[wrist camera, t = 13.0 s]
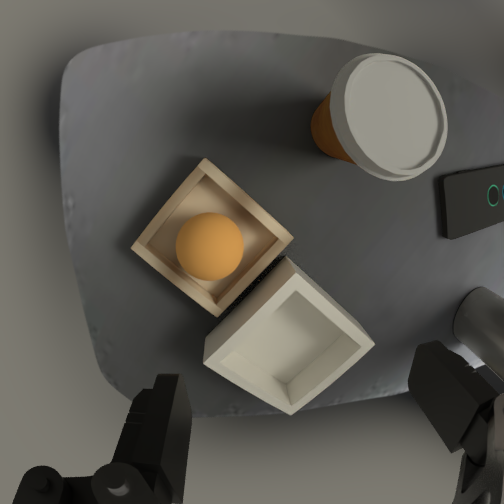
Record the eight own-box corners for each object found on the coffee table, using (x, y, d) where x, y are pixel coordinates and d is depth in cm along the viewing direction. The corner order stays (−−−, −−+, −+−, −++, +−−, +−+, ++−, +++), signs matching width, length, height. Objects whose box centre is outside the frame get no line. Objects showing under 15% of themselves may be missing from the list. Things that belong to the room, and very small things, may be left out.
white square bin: (358, 322, 34) (375, 344, 29) (284, 388, 36) (290, 415, 31) (285, 255, 31) (296, 272, 26) (205, 337, 33) (202, 363, 28)
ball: (255, 236, 29) (261, 253, 24) (215, 279, 30) (211, 305, 25) (208, 195, 28) (202, 202, 22) (169, 241, 29) (155, 259, 23)
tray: (288, 232, 30) (293, 237, 28) (217, 306, 32) (217, 317, 30) (206, 158, 28) (204, 157, 25) (137, 241, 29) (130, 248, 27)
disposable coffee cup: (329, 191, 29) (387, 209, 18) (275, 114, 27) (306, 82, 15) (394, 145, 28) (468, 143, 17) (347, 71, 26) (405, 32, 14)
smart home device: (526, 213, 31) (448, 242, 31) (519, 211, 33) (440, 239, 33) (524, 161, 29) (443, 176, 29) (516, 160, 30) (435, 175, 30)
